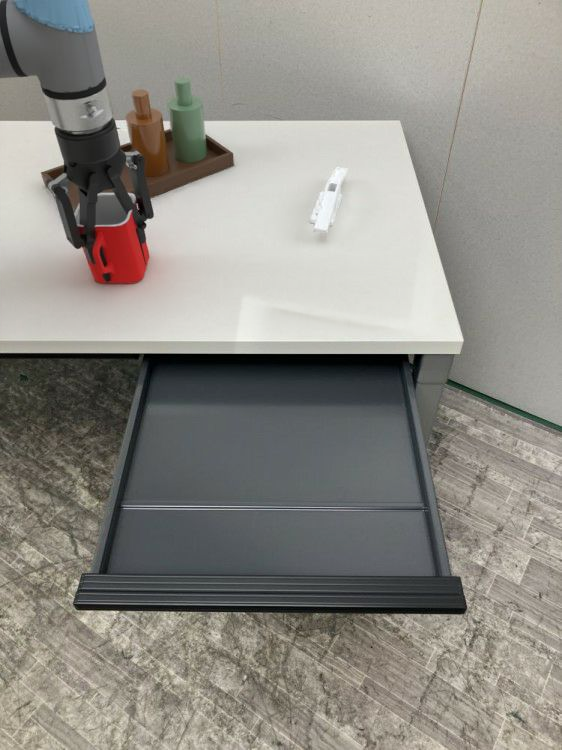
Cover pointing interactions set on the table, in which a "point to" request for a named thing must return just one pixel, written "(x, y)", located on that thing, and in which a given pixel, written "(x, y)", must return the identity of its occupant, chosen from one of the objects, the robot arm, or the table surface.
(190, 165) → the tray
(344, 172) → the white long narrow piece
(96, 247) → the mug
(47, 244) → the table surface
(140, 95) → the amber bottle
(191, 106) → the sage bottle
